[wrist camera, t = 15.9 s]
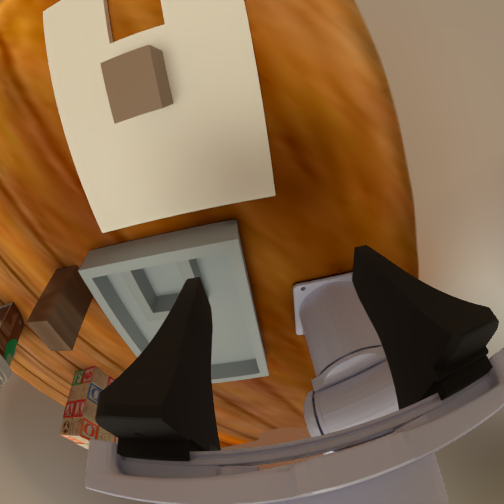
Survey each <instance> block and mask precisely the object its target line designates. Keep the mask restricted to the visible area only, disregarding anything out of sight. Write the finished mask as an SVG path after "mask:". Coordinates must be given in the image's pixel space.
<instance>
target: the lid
mask: <svg viewBox="0 0 504 504" xmlns="http://www.w3.org/2000/svg"><path fill="white" fill-rule="evenodd" d="M161 5H162V11H163V16H164V22H165V24H164V25H161V26H158V27H154V28H151V29H148V30H145V31H142V32H139V33H136V34H134V35H131V36H128V37H126V38H123V39H121V40H118V41H116V42H113V37H112V31H111V25H110V18H109V11H108V4H107V0H61V1H59V2H58V3H56V4H54V5H53V6H51V7H50V8H48V9H46V10H45V11H43V22H44V33H45V42H46V50H47V57H48V63H49V69H50V74H51V80H52V85H53V89H54V94H55V98H56V102H57V107H58V111H59V114H60V118H61V122H62V126H63V129H64V133H65V136H66V139H67V142H68V146H69V149H70V152H71V155H72V158H73V161H74V164H75V167H76V170H77V172H78V175H79V178H80V181H81V183H82V186H83V188H84V191H85V194H86V196H87V199H88V201H89V204H90V206H91V208H92V211H93V213H94V215H95V218H96V220H97V222H98V225H99V227H100V229H101V231H102V233H105V232H109V231H113V230H116V229H120V228H124V227H128V226H132V225H136V224H140V223H145V222H149V221H153V220H157V219H162V218H166V217H170V216H175V215H179V214H184V213H188V212H193V211H198V210H203V209H207V208H212V207H217V206H222V205H227V204H233V203H238V202H243V201H249V200H254V199H260V198H265V197H271V196H276V194H275V186H274V179H273V171H272V164H271V157H270V150H269V143H268V136H267V129H266V123H265V116H264V110H263V103H262V97H261V91H260V85H259V79H258V73H257V67H256V61H255V56H254V50H253V45H252V39H251V34H250V28H249V23H248V18H247V13H246V8H245V3H244V0H161Z"/></svg>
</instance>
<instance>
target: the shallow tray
mask: <svg viewBox="0 0 504 504" xmlns="http://www.w3.org/2000/svg"><path fill="white" fill-rule="evenodd" d="M78 272H79V273H80V275H81V277H82V278H83V280H84V282H85V283H86V285H87V287H88V288H89V290H90V291H91V293H92V295H93V296H94V298H95V299H96V301H97V302H98V304H99V305H100V307H101V308H102V310H103V311H104V313H105V314H106V316H107V317H108V319H109V320H110V322H111V323H112V324H113V326H114V327H115V329H116V330H117V331H118V333H119V334H120V335H121V337H122V338H123V339H124V341H125V342H126V343H127V345H128V346H129V347H130V349H131V350H132V351H133V352H134V354H135V355H136V356H137V358H138V356H139V355H140V354H141V353H142V352H143V351H144V349H145V348H146V347H147V346H148V344H149V343H150V342H151V340H152V339H153V337H154V336H155V335H156V333H157V332H158V330H159V329H160V327H161V325H162V324H163V322H164V320H165V319H166V317H167V315H168V314H169V312H170V310H171V308H172V306H173V305H174V303H175V301H176V299H177V297H178V295H179V293H180V291H181V289H182V287H183V285H184V283H185V281H186V280H187V279H190V278H196V277H200V278H201V281H202V284H203V287H204V289H205V292H206V295H207V297H208V300H209V303H210V305H211V310H212V324H213V333H212V355H211V381H212V383H220V382H228V381H236V380H243V379H250V378H257V377H263V376H269V372H268V366H267V359H266V354H265V350H264V345H263V341H262V336H261V331H260V327H259V322H258V318H257V313H256V309H255V304H254V300H253V295H252V290H251V286H250V281H249V277H248V272H247V267H246V263H245V258H244V253H243V249H242V244H241V239H240V235H239V230H238V225H237V220H236V219H234V220H228V221H223V222H218V223H213V224H208V225H203V226H198V227H193V228H188V229H183V230H179V231H174V232H169V233H165V234H160V235H155V236H151V237H146V238H142V239H137V240H133V241H129V242H124V243H120V244H116V245H112V246H107V247H103V248H99V249H95V250H91V251H89V253H88V255H87V256H86V258H85V260H84V261H83V263H82V265H81V267H80V268H79V270H78Z"/></svg>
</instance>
